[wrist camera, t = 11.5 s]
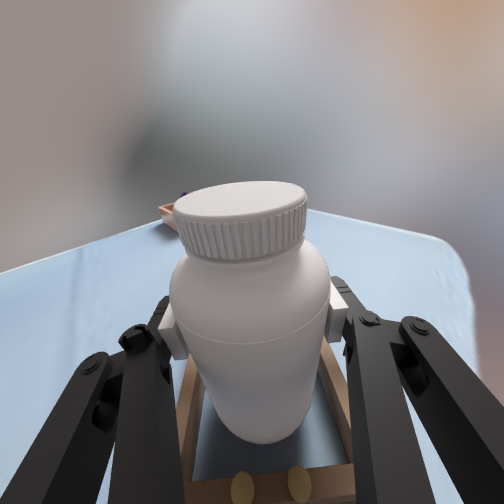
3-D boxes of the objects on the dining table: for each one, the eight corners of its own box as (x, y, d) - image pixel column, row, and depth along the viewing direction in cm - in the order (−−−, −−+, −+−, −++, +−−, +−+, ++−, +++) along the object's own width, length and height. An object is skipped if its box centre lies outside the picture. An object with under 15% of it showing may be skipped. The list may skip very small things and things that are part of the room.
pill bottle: (309, 474, 10) (368, 246, 3) (193, 420, 13) (65, 226, 6) (316, 347, 17) (339, 171, 9) (236, 327, 19) (204, 178, 12)
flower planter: (180, 234, 48) (174, 216, 46) (163, 222, 58) (157, 207, 55) (221, 219, 55) (218, 203, 53) (200, 211, 65) (196, 197, 62)
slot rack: (380, 501, 11) (398, 490, 9) (168, 526, 11) (145, 520, 9) (287, 266, 32) (287, 249, 30) (215, 274, 31) (211, 257, 30)
